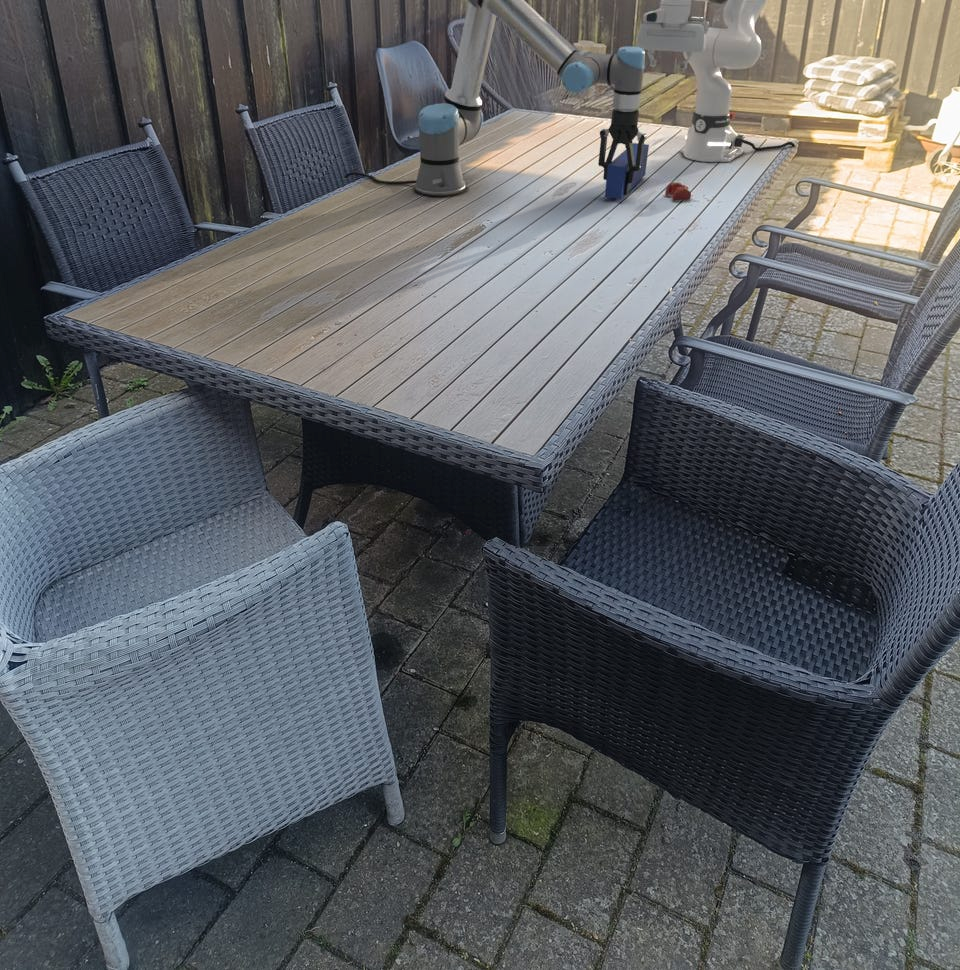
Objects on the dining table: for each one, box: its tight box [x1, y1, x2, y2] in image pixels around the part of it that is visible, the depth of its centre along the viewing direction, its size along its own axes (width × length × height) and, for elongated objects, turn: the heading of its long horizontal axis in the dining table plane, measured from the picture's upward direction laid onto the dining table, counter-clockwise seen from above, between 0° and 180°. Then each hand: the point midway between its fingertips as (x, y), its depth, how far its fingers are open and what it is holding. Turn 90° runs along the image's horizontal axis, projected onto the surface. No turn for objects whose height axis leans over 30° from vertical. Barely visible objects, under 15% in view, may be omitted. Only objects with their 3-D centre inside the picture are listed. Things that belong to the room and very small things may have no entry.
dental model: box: [665, 181, 692, 202], centre depth 251 cm, size 6×4×8 cm
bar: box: [604, 142, 650, 200], centre depth 256 cm, size 28×5×9 cm, turn 156°
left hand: (616, 192), depth 251 cm, fingers closed on bar, 5 cm apart
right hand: (668, 67), depth 254 cm, fingers open, 8 cm apart
